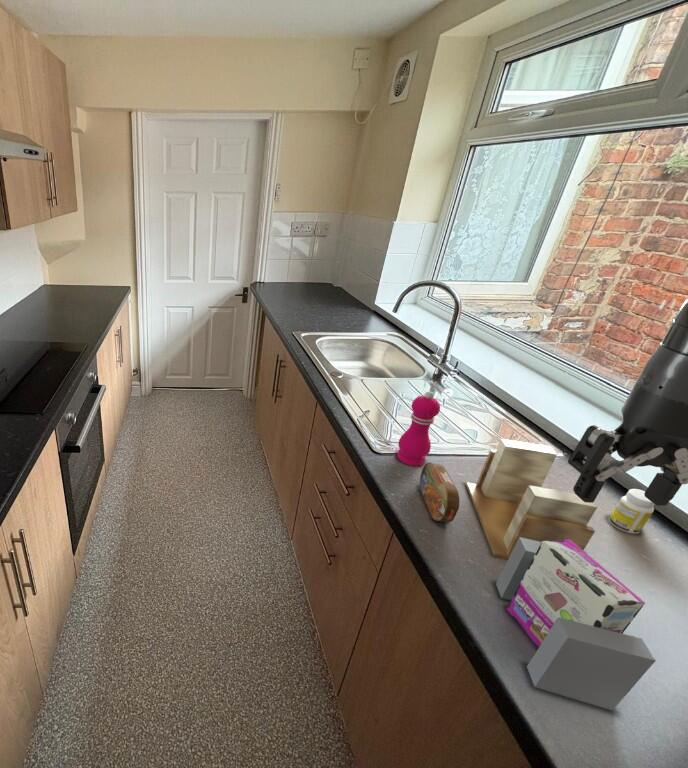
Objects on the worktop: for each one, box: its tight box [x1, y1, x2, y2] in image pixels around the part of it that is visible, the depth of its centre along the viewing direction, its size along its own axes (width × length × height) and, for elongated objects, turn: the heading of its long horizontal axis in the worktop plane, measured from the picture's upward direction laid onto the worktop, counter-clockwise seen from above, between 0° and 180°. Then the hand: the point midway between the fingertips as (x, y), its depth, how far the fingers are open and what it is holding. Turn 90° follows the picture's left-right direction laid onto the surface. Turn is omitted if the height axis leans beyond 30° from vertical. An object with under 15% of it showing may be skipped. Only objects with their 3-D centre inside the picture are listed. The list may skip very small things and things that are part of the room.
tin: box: [419, 462, 460, 523], centre depth 91 cm, size 15×3×8 cm, turn 167°
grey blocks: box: [495, 537, 656, 711], centre depth 64 cm, size 9×18×12 cm, turn 160°
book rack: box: [465, 438, 598, 560], centre depth 84 cm, size 14×22×15 cm, turn 160°
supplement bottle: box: [608, 488, 656, 534], centre depth 85 cm, size 5×5×8 cm
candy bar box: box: [506, 540, 646, 648], centre depth 63 cm, size 11×5×16 cm, turn 4°
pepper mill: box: [396, 391, 441, 467], centre depth 104 cm, size 7×7×20 cm
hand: (618, 499), depth 53 cm, fingers open, 8 cm apart
